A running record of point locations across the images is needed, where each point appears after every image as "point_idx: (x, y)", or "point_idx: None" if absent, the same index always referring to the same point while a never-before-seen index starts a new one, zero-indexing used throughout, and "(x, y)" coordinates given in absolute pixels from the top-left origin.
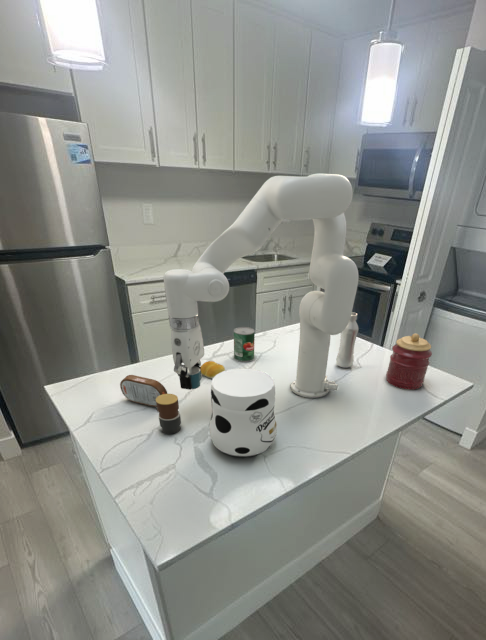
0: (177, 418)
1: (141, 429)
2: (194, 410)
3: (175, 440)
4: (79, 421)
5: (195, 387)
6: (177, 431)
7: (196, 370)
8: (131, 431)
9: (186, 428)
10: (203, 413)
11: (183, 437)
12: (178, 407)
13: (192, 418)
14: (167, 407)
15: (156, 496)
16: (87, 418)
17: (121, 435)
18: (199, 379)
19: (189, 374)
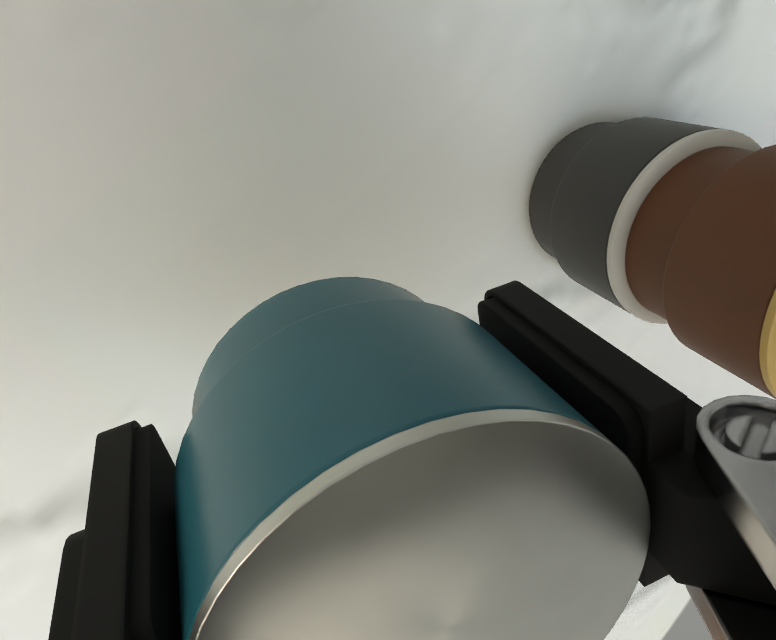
0: (710, 128)
1: (649, 347)
2: (270, 246)
3: (696, 57)
4: (672, 595)
5: (398, 290)
6: (611, 123)
7: (390, 532)
8: (680, 371)
9: (539, 96)
10: (259, 133)
11: (649, 26)
12: (761, 160)
13: (391, 163)
14: None
15: None
16: (643, 598)
17: (722, 377)
18: (350, 325)
19: (633, 473)
